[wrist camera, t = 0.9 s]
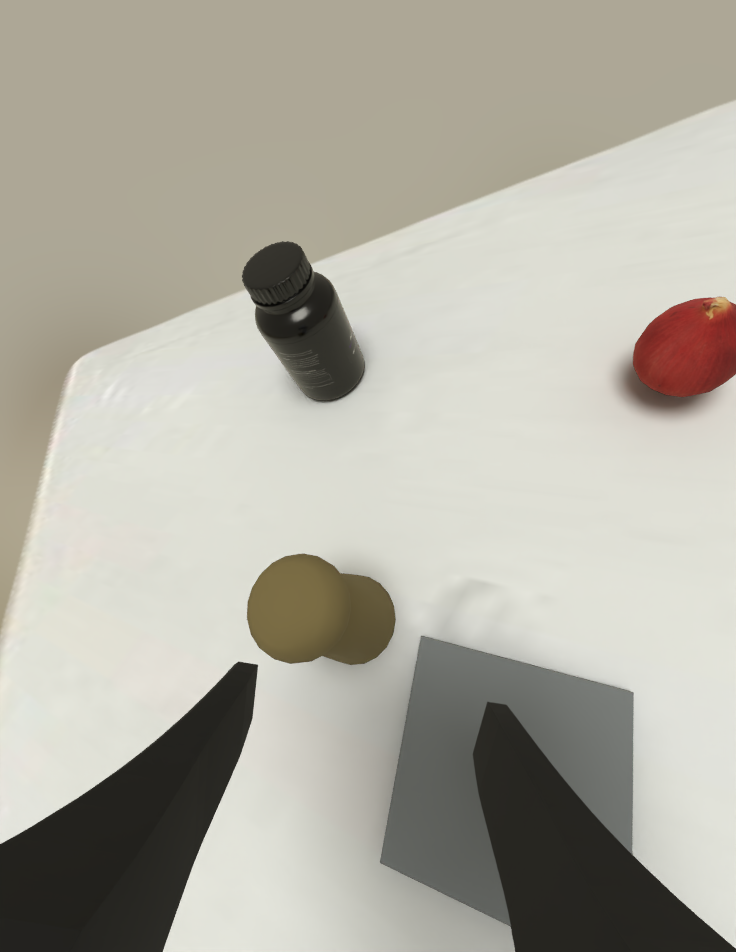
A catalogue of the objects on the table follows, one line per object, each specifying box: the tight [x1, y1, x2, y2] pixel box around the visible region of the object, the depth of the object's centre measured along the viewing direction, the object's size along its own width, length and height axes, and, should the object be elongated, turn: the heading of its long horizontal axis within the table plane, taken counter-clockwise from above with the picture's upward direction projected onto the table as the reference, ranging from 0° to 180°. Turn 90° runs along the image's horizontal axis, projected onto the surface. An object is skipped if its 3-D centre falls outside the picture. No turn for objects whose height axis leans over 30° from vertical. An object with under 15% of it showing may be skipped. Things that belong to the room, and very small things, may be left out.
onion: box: [633, 297, 736, 397], centre depth 25 cm, size 6×6×8 cm
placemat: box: [380, 636, 633, 926], centre depth 22 cm, size 12×12×1 cm
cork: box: [247, 554, 395, 665], centre depth 23 cm, size 6×6×11 cm
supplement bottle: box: [242, 242, 364, 400], centre depth 32 cm, size 7×7×12 cm
